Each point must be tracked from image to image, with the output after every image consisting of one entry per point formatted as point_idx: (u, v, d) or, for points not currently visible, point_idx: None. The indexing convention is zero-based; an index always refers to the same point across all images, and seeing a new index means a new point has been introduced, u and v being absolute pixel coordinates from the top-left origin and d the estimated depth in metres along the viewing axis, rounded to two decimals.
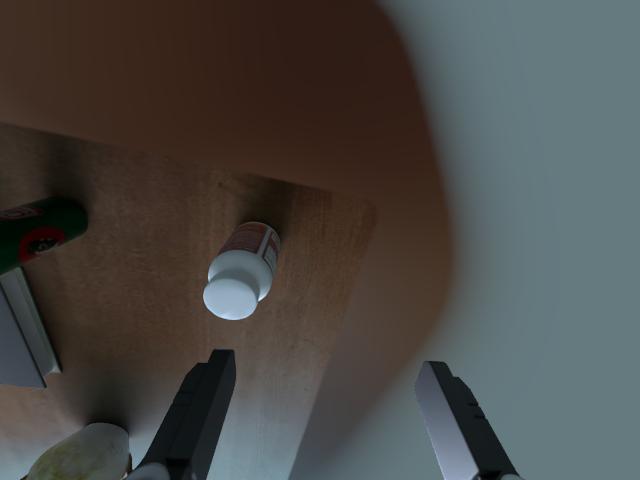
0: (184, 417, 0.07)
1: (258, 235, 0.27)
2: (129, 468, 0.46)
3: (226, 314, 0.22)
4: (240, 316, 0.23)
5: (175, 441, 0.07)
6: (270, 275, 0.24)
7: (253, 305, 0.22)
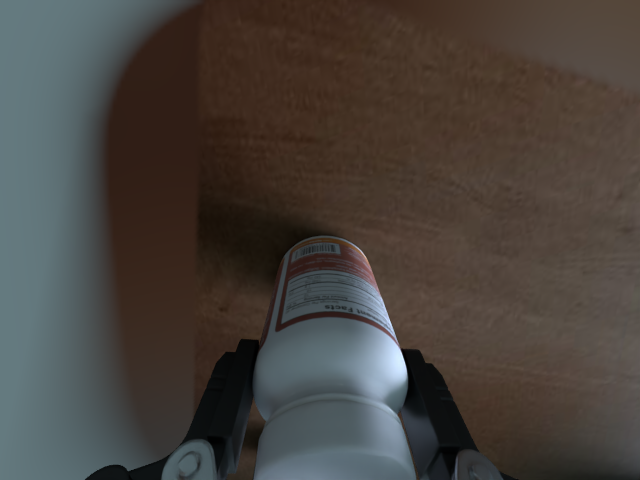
0: (220, 400, 0.08)
1: (273, 291, 0.13)
2: None
3: None
4: None
5: (214, 421, 0.07)
6: (322, 327, 0.09)
7: (361, 456, 0.06)
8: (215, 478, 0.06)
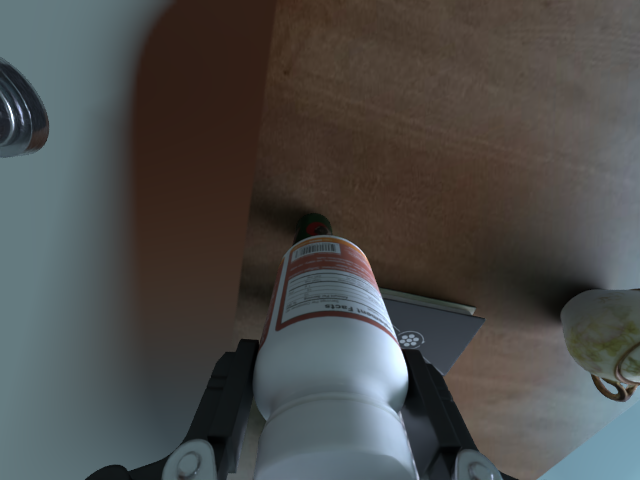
0: (220, 400, 0.08)
1: (274, 290, 0.13)
2: None
3: None
4: None
5: (215, 421, 0.07)
6: (322, 327, 0.09)
7: (362, 455, 0.06)
8: (215, 478, 0.06)
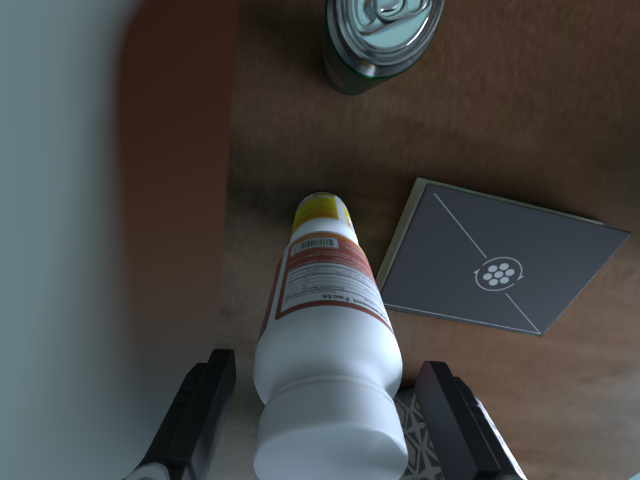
0: (184, 417, 0.07)
1: (273, 283, 0.13)
2: None
3: (382, 477, 0.08)
4: (397, 458, 0.07)
5: (175, 441, 0.07)
6: (319, 315, 0.09)
7: (355, 431, 0.07)
8: None
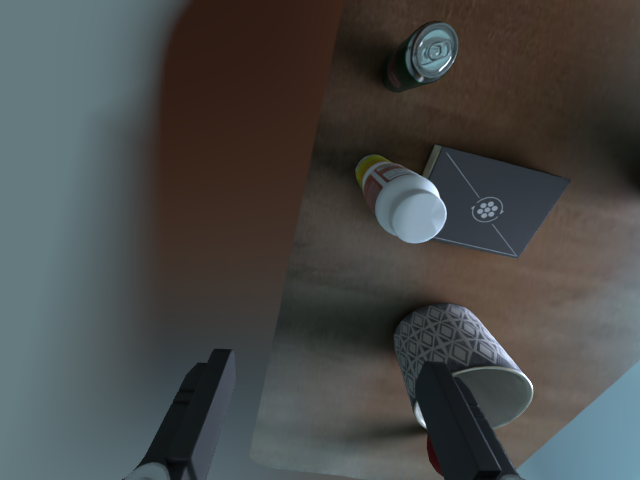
0: (184, 417, 0.07)
1: (371, 183, 0.27)
2: None
3: (436, 226, 0.22)
4: (443, 213, 0.21)
5: (175, 441, 0.07)
6: (409, 176, 0.23)
7: (431, 197, 0.20)
8: None
